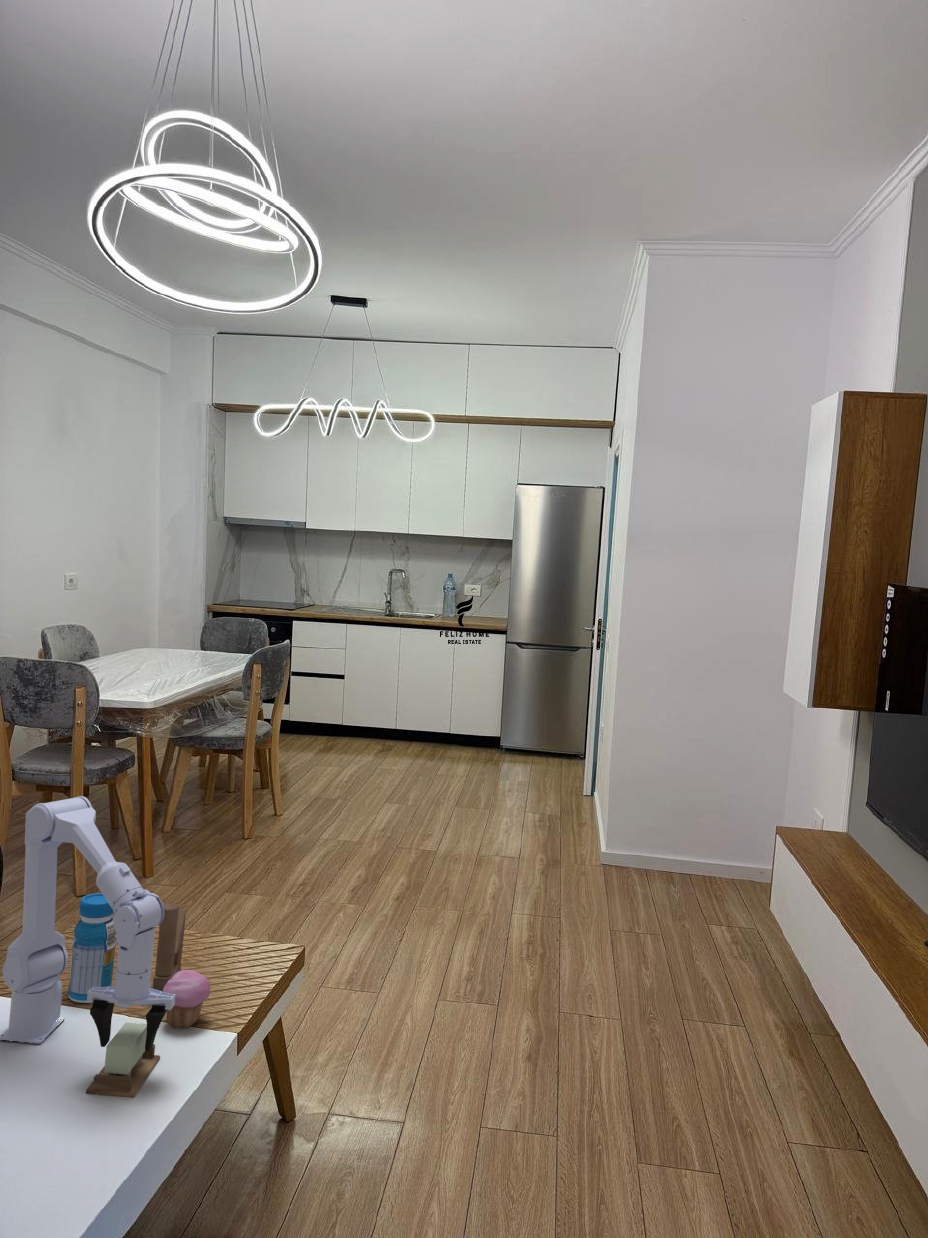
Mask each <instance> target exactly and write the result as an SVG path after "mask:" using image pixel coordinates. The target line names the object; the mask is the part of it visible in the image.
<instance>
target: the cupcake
mask: <svg viewBox="0 0 928 1238" xmlns="http://www.w3.org/2000/svg"><path fill="white" fill-rule="evenodd" d="M210 990H211V986H210V982H209V979H208V978H207V977H206V976H205V975H203V974H201V973H199V972H197V971H196V970H192V969H184V970H183V969H182V970H180V971H179V972H177V973H176V974H175V975H174V976H173V977H172V978H171V979H170V980H169V981H168V982H167V984H166V985H165V987H164V989H163V992H165V993H170V994H175V1005H174V1006H173V1008H172V1009H171V1010H167V1012H166V1022H167V1025H168V1026H169V1027H171V1028H176V1027H179V1028H178V1029H181V1028H182V1029H183V1028H184V1029H187V1028H189V1027H191V1026H193V1025H194V1024H195V1023H196V1022H197V1021H198V1019H199V1017H200V1013H201V1010H202V1006H203V1003H204V1001H205V1000H207V999H208V998H209V997H210V993H211V991H210Z"/></svg>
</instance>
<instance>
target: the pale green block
mask: <svg viewBox="0 0 928 1238" xmlns="http://www.w3.org/2000/svg"><path fill="white" fill-rule="evenodd" d="M146 1035H147V1023H135V1022H134V1023H133V1022H125V1023H124V1024H123V1025H122V1026H121V1027H120V1029H119V1030H118V1031H117V1033H116V1034H115V1035H114V1036H113V1038H111V1040H109V1042H108V1043H107V1044H106V1046H105V1047H106V1048H105V1049H106V1050H105V1060H104V1066H105V1069H104V1073H116V1074H127V1075H128V1074H129V1072H130V1071H131V1070H132V1068H133V1067H134V1065H135V1064H136V1063H137V1061H138V1060H139V1059H140V1057H141V1056H142V1054H143V1053H144V1052H145V1042H146Z"/></svg>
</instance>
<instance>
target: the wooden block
mask: <svg viewBox="0 0 928 1238" xmlns="http://www.w3.org/2000/svg"><path fill="white" fill-rule="evenodd" d="M163 907H164V918H163V920H162V922H161V924H160V925H158V926H159V927H158V929H159V930H158V935H157V937H158V939H157V947H156V949H157V950H156V960H155V971H154V974H155V975H154V976H153V981H152V989H155V990H158V991H162V992H163V989H164V987H165V985H166V984H167V982H168V981H169V980H170V979H171V978H172V977H173V976H174V975H175V974H176V973H177V972H179V971H182V970H181V969H182V958H183V947H184V946H183V945H184V943H183V942H184V939H185V938H184V937H185V928H186V927H185V926H186V914H187V910H186V909H180V906H179V904H176V903H166V904H163Z"/></svg>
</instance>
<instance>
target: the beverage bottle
mask: <svg viewBox="0 0 928 1238" xmlns="http://www.w3.org/2000/svg"><path fill="white" fill-rule="evenodd" d="M78 914H79V917H80V919H79V921H78V922H77V923H76V925H75V926H74V929H73V931H72V932H73V937H74V939H73V940H72V943H71V947H70V948H71V957H70V967H69V969H70V970H69V971H70V972H69V982H68V989H67V996H68V997H67V998H68V999H70V1000H71V1001H72V1002H75V1003H79V1004H88V1003H87V994H88V991H89V990H90V989H91V988H92V987H113V986H112V985H113V984H112V983H113V972H114V963H115V953H116V947H117V941H116V936H115V935H117V933H116V929H115V927H114V924H113V916H114V914H115V912H114V911H113V909H112V908H111V906H110V905H109V903H108V902H107V900H106V899H105V897H104V896H103V894H102V893H101V892H97V893H91V894H86V895H84V896H83V897H81V899H80V902H79V913H78Z"/></svg>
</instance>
